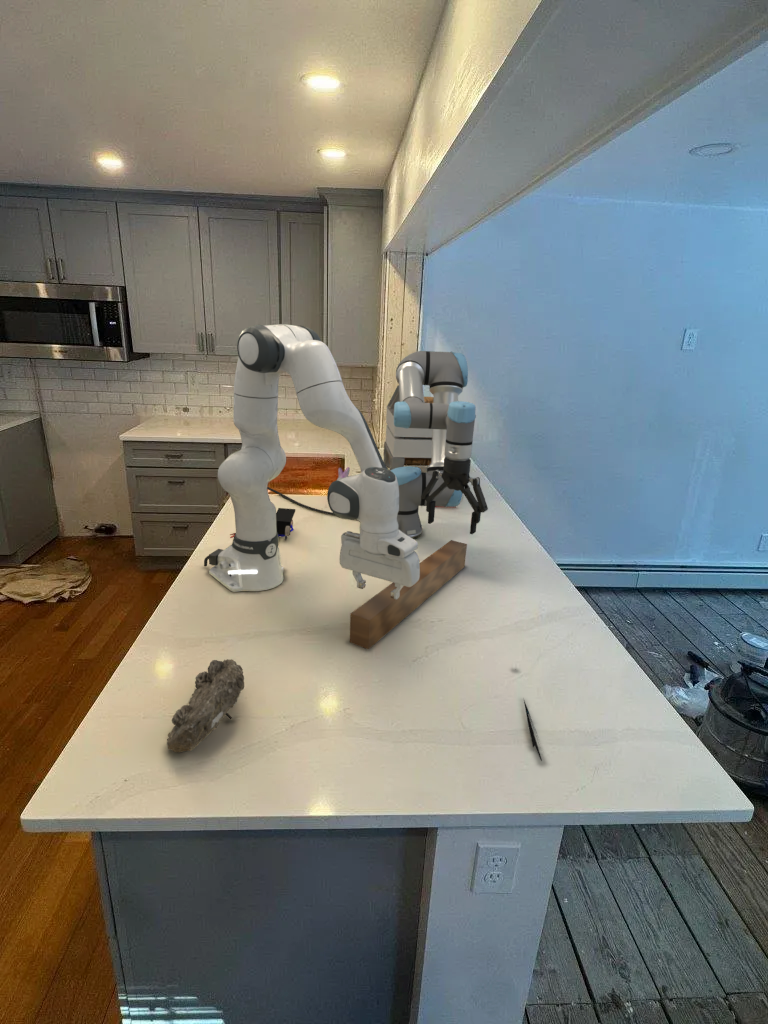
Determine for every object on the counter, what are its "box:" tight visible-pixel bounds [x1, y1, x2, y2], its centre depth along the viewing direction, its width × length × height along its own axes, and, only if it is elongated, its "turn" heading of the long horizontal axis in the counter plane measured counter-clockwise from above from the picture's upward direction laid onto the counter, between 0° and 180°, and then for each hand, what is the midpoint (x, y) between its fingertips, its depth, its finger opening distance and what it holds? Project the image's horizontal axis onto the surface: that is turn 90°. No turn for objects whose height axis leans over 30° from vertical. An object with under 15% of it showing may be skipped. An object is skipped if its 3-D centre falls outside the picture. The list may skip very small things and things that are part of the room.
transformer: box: [383, 384, 434, 471], centre depth 268 cm, size 34×33×41 cm
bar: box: [349, 539, 468, 650], centre depth 154 cm, size 55×5×8 cm, turn 149°
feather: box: [514, 668, 543, 762], centre depth 113 cm, size 2×28×2 cm
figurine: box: [336, 466, 351, 480], centre depth 225 cm, size 9×10×15 cm
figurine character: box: [276, 507, 296, 541], centre depth 193 cm, size 7×8×15 cm
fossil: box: [166, 658, 245, 754], centre depth 106 cm, size 22×10×15 cm
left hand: (377, 592), depth 134 cm, fingers open, 8 cm apart
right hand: (451, 527), depth 167 cm, fingers open, 13 cm apart
